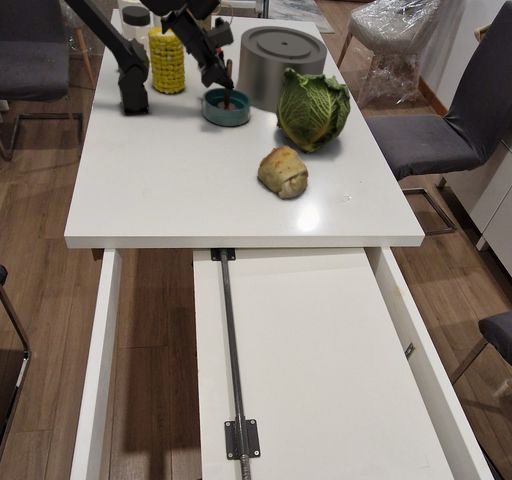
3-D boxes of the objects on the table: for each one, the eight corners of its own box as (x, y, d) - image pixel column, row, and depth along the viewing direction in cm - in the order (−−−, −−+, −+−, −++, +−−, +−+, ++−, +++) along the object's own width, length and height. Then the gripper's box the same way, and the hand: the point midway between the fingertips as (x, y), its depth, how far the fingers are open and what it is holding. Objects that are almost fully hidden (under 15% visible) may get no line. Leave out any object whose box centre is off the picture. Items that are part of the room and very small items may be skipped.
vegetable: (318, 158, 125) (342, 82, 117) (345, 166, 109) (376, 78, 100) (256, 138, 118) (277, 56, 110) (275, 144, 102) (301, 47, 94)
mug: (230, 53, 144) (232, 10, 134) (178, 46, 142) (177, 2, 133) (231, 40, 150) (234, -2, 141) (182, 33, 149) (181, -10, 139)
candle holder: (123, 33, 143) (117, -12, 133) (152, 36, 145) (149, -8, 135) (120, 45, 138) (114, -1, 128) (151, 48, 139) (147, 3, 129)
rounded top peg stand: (234, 119, 118) (239, 64, 107) (216, 116, 117) (219, 61, 106) (235, 110, 121) (239, 56, 110) (217, 107, 120) (220, 53, 109)
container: (245, 113, 122) (250, 61, 111) (231, 73, 135) (233, 23, 124) (326, 114, 127) (338, 64, 116) (304, 75, 140) (313, 28, 130)
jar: (132, 64, 131) (127, 17, 121) (121, 53, 135) (115, 6, 125) (159, 60, 135) (155, 14, 125) (147, 49, 138) (144, 4, 128)
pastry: (259, 162, 108) (263, 131, 101) (307, 170, 108) (314, 140, 102) (253, 195, 100) (257, 163, 93) (305, 203, 100) (313, 173, 94)
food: (159, 101, 123) (153, 87, 128) (197, 90, 124) (190, 76, 129) (140, 41, 110) (135, 28, 116) (183, 29, 111) (176, 17, 117)
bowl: (212, 130, 114) (212, 113, 111) (196, 106, 121) (196, 89, 117) (256, 125, 118) (258, 108, 115) (238, 102, 125) (240, 86, 121)
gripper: (216, 24, 94) (259, 81, 104) (213, -5, 104) (252, 50, 115) (182, 61, 99) (226, 112, 110) (182, 29, 110) (222, 79, 120)
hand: (232, 87), depth 114 cm, fingers closed on rounded top peg stand, 2 cm apart
